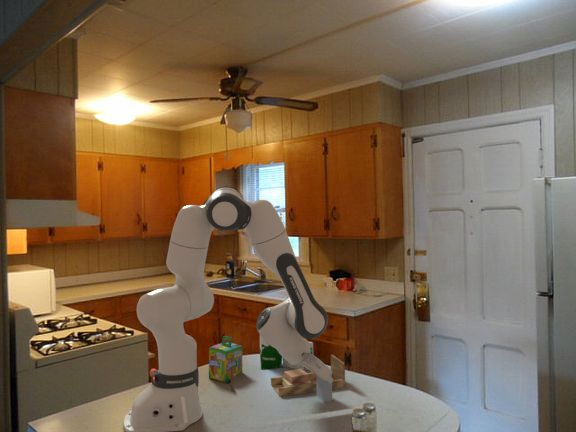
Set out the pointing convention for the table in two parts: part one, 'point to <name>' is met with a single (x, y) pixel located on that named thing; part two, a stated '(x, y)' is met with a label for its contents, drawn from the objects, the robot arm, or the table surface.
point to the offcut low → (286, 384)
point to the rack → (312, 380)
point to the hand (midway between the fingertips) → (323, 375)
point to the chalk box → (225, 360)
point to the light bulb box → (296, 366)
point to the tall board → (324, 389)
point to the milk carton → (269, 356)
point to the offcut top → (296, 376)
